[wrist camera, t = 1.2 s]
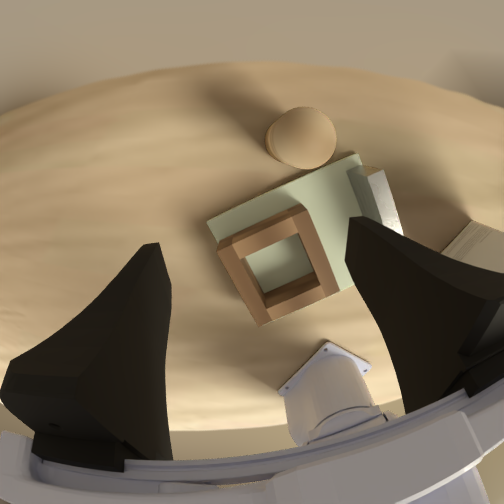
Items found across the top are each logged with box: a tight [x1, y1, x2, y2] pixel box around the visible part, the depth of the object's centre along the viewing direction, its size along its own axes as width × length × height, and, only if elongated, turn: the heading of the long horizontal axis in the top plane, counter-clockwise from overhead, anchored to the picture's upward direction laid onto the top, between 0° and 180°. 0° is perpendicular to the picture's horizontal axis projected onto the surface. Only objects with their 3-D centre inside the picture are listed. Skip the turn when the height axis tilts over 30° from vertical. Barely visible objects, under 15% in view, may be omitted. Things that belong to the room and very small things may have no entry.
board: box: [207, 153, 362, 325], centre depth 28 cm, size 15×12×1 cm
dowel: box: [265, 107, 337, 169], centre depth 21 cm, size 4×4×8 cm
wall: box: [346, 165, 404, 236], centre depth 24 cm, size 2×10×5 cm, turn 25°
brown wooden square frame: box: [217, 203, 340, 327], centre depth 26 cm, size 8×8×3 cm
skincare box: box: [440, 220, 504, 273], centre depth 22 cm, size 8×7×16 cm
